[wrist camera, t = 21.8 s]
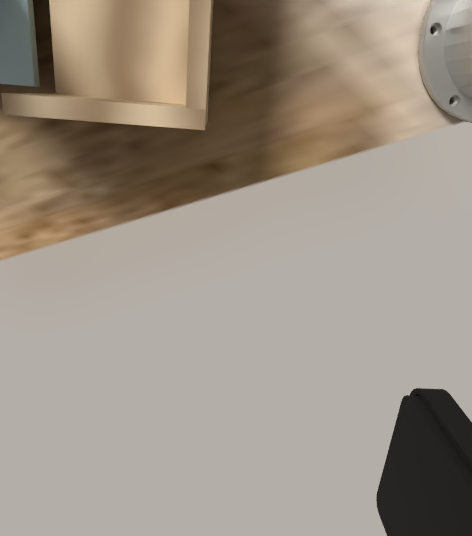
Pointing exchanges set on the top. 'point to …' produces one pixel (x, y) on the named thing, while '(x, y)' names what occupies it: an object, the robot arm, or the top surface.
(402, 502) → the robot arm
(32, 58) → the door
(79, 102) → the cabinet
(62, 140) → the top surface
